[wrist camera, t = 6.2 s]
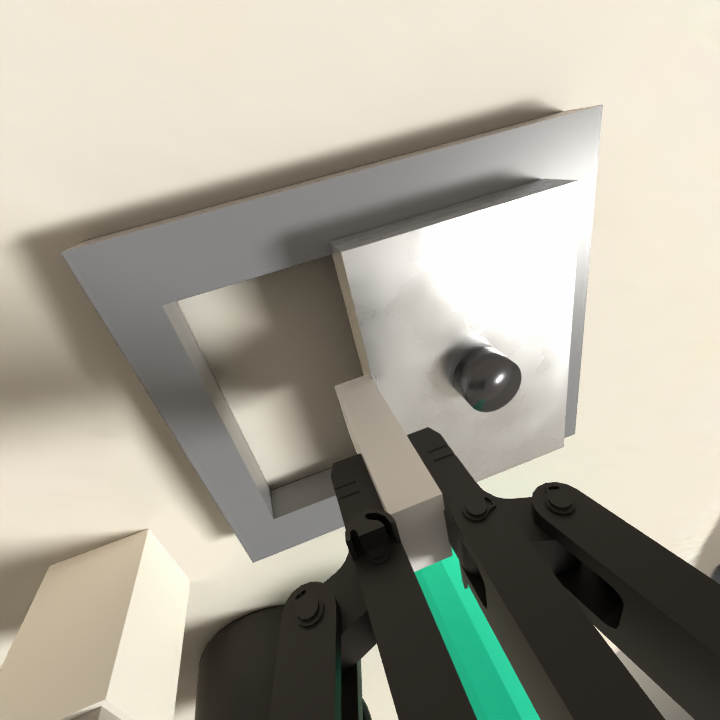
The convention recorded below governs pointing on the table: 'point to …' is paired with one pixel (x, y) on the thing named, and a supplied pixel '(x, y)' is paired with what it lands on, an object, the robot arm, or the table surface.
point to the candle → (473, 645)
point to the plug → (100, 638)
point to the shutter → (471, 319)
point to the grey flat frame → (293, 247)
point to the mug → (242, 669)
